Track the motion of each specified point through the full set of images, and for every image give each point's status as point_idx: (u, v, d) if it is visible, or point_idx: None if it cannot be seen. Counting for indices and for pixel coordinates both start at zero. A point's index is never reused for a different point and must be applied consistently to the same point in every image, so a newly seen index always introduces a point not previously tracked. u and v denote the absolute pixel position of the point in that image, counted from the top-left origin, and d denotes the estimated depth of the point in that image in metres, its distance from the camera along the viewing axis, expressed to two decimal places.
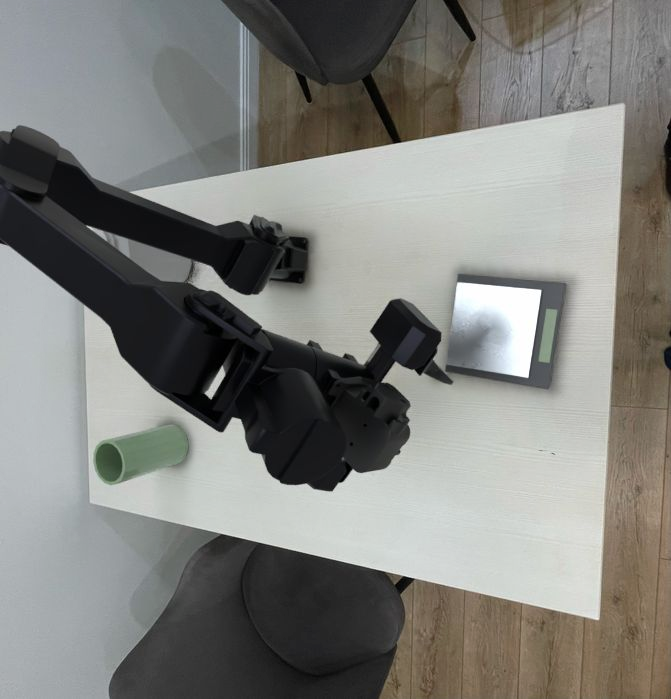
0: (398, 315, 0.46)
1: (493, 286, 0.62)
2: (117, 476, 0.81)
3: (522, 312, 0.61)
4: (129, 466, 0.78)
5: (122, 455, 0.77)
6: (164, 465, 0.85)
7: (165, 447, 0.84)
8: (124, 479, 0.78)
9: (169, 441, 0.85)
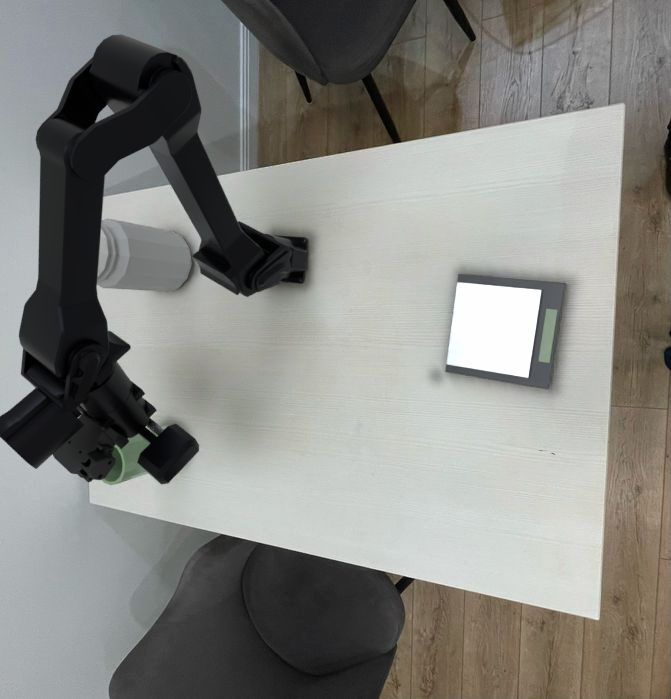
0: (172, 452, 0.62)
1: (493, 286, 0.62)
2: (117, 476, 0.81)
3: (522, 312, 0.61)
4: (129, 466, 0.78)
5: (122, 455, 0.77)
6: None
7: None
8: (124, 479, 0.78)
9: None
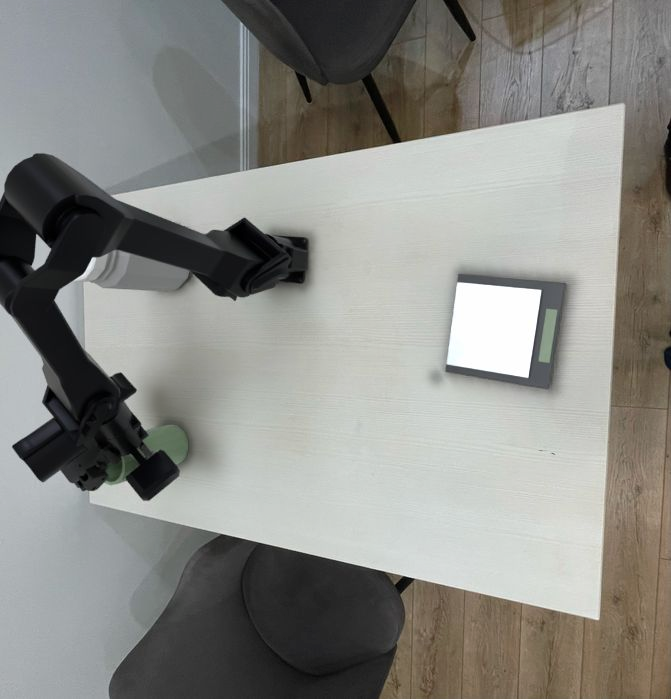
0: (156, 477, 0.73)
1: (493, 286, 0.62)
2: (117, 476, 0.81)
3: (522, 312, 0.61)
4: (129, 466, 0.78)
5: None
6: None
7: (165, 447, 0.84)
8: (124, 479, 0.78)
9: (169, 441, 0.85)
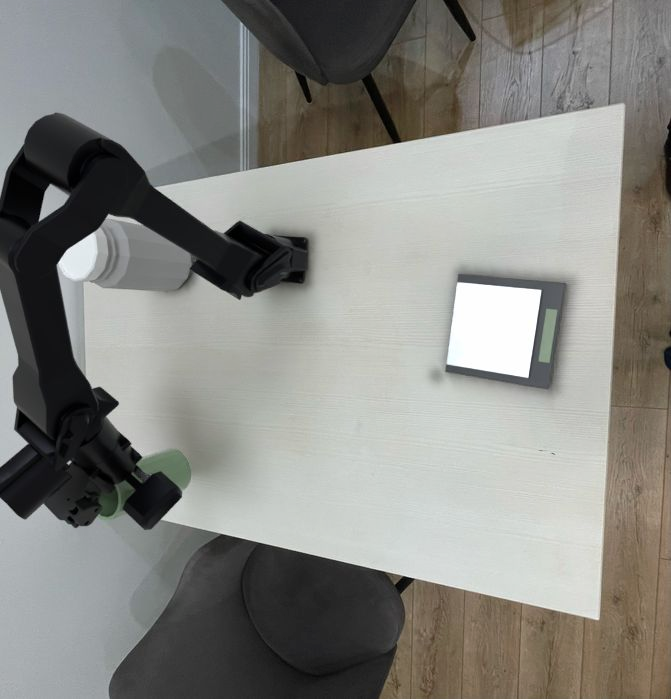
0: (155, 501, 0.65)
1: (493, 286, 0.62)
2: (115, 510, 0.73)
3: (522, 312, 0.61)
4: (126, 496, 0.70)
5: None
6: None
7: (165, 472, 0.76)
8: (122, 511, 0.70)
9: (169, 465, 0.77)
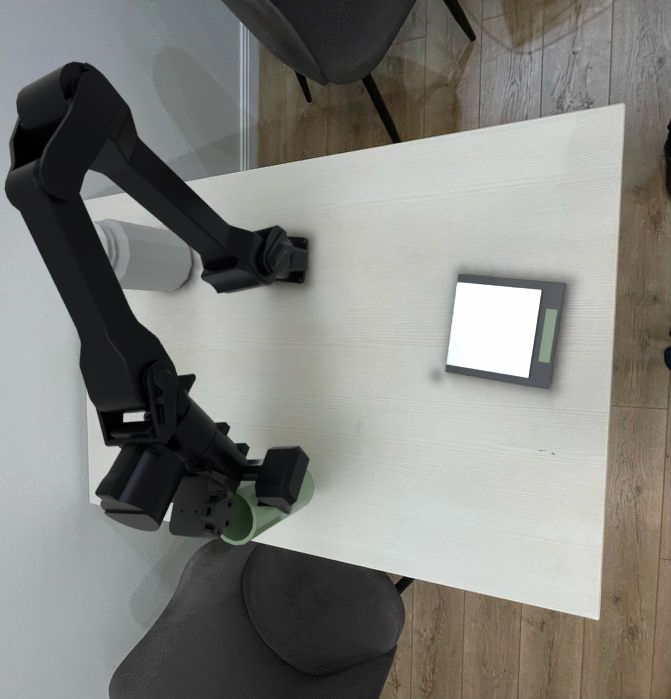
0: (284, 465, 0.56)
1: (493, 286, 0.62)
2: None
3: (522, 312, 0.61)
4: (255, 499, 0.60)
5: (239, 491, 0.60)
6: None
7: None
8: (260, 519, 0.60)
9: None
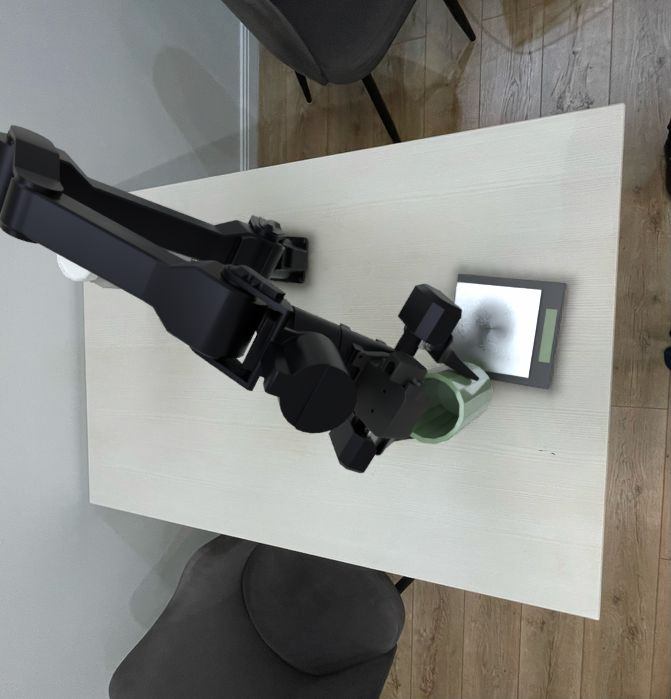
0: (421, 296, 0.49)
1: (493, 286, 0.62)
2: None
3: (522, 312, 0.61)
4: (432, 371, 0.50)
5: None
6: None
7: None
8: (454, 381, 0.49)
9: None
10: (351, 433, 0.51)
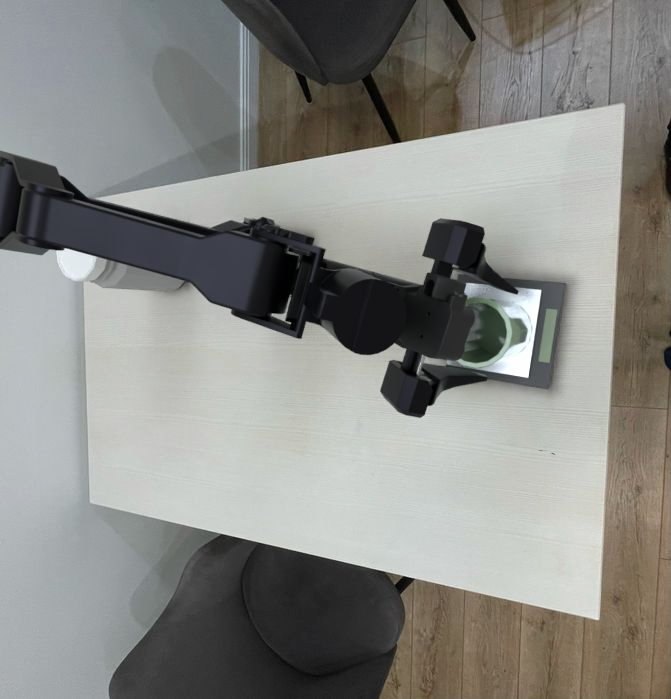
0: (441, 227, 0.50)
1: None
2: None
3: None
4: None
5: None
6: (505, 301, 0.57)
7: None
8: (494, 301, 0.50)
9: None
10: (403, 377, 0.51)
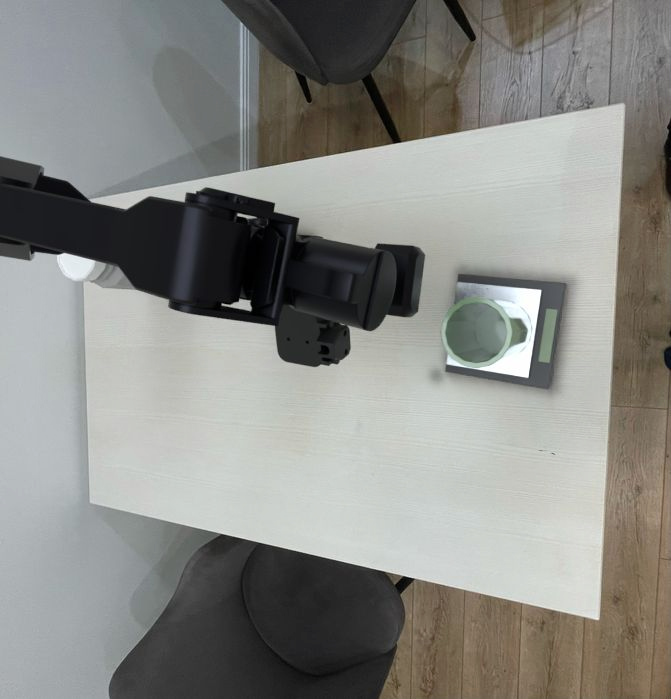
0: (401, 279, 0.46)
1: (493, 286, 0.62)
2: None
3: None
4: None
5: (451, 308, 0.51)
6: (505, 301, 0.57)
7: None
8: (494, 301, 0.50)
9: None
10: None
